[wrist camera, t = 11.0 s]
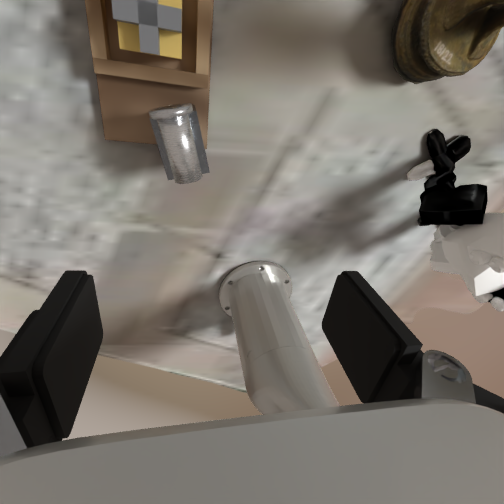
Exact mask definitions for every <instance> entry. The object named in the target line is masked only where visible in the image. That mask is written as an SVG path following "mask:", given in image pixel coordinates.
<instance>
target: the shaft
mask: <svg viewBox="0 0 504 504" xmlns="http://www.w3.org/2000/svg"><path fill="white" fill-rule="evenodd" d="M148 112H149V115H150V118H149V119H150V122H151V125H152V128H153V132H154V135H155V138H156V142H157V145H158V148H159V151H160V155H161V158H162V161H163V165H164V168H165V171H166V174H167V178H168V180H172V179H174V180H175V182H176V183H178V184H186V183H192V182H195V181H197V180H199V179H201V178H202V174H204V173H209V167H208V162H207V158H206V153H205V148H204V144H203V139H202V134H201V130H200V125H199V120H198V116H197V111H196V107H195V104H194V105H192V104H191V103H181V104H173V105H167V106H162V107H158V108H154V109H151V110H149V111H148Z"/></svg>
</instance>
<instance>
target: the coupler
mask: <svg viewBox="0 0 504 504" xmlns="http://www.w3.org/2000/svg"><path fill="white" fill-rule="evenodd" d="M112 11H113V19H115V20H116V21H117V24H118V35H119V46H120V49H124V50H128V51H134V52H139V53H145V54H151V55H157V56H163V57H169V58H175V59H181V60H182V0H112Z"/></svg>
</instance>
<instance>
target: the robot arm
mask: <svg viewBox="0 0 504 504" xmlns="http://www.w3.org/2000/svg"><path fill="white" fill-rule="evenodd" d="M291 294H292V282H291V279H290V277H289V275H288V273H287V272H286V271H285V270H284V269H283V268H282V267H281V266H279V265H277V264H274V263H271V262H265V261H258V262H251V263H247V264H244V265H242V266H240V267H238V268H236V269H235V270H233V271H232V272H231V273H230V274H229V275H227V277H226V278H225V279H224V281H223V282H222V284H221V286H220V290H219V300H220V304H221V307H222V309H223V310H224V311H225V312H226V313H227V314H228V315H229V316H231V317H232V318H233V324H234V329H235V334H236V339H237V345H238V350H239V355H240V360H241V365H242V371H243V376H244V381H245V386H246V390H247V394H248V396H249V398H250V400H251V402H252V403H253V405H254V406H255V407H256V408H257V409H258V410H259V412H261V413H262V414H263V415H257V416H249V417H240V418H231V419H223V420H214V421H206V422H198V423H189V424H182V425H173V426H164V427H156V428H148V429H140V430H133V431H125V432H118V433H110V434H103V435H96V436H89V437H81V438H75V439H69V440H64V441H62V438H67V437H69V435H70V433H71V430H72V427H73V424H74V421H75V418H76V416H77V413H78V410H79V407H80V404H81V401H82V398H83V395H84V392H85V389H86V386H87V384H88V381H89V378H90V375H91V372H92V369H93V366H94V363H95V360H96V357H97V354H98V351H99V349H100V346H101V343H102V339H103V329H102V323H101V318H100V312H99V307H98V301H97V296H96V290H95V285H94V279H93V276H92V275H87V272H86V271H65V272H64V274H63V275H62V277H61V278H60V280H59V281H58V283H57V284H56V286H55V287H54V289H53V290H52V292H51V293H50V295H49V296H48V298H47V299H46V301H45V302H44V304H43V305H42V307H41V308H40V310H35V311H33V312H32V313H31V314H30V315H29V316H28V318H27V319H26V321H25V322H24V324H23V325H22V326H21V328H20V329H19V331H18V332H17V334H16V335H15V337H14V338H13V340H12V341H11V342H10V344H9V345H8V347H7V348H6V350H5V351H4V352H3V354H2V356H1V357H0V504H504V399H503V398H501V397H499V396H497V395H495V394H493V393H491V392H489V391H487V390H485V389H483V388H481V387H479V386H477V385H475V384H473V383H472V378H471V375H470V373H469V371H468V370H467V369H466V367H465V366H464V365H463V364H462V363H460V362H459V361H457V360H456V359H455V358H454V357H452V356H450V355H448V354H446V353H444V352H440V351H436V350H429V351H426V352H425V353H423V352H422V351H421V350H420V349H421V347H422V345H423V344H422V343H421V342H420V341H419V340H418V339H417V338H416V336H415V335H414V334H413V333H412V332H411V331H410V330H409V329H408V328H407V326H406V325H405V324H404V323H403V322H402V321H401V320H400V318H399V317H398V316H397V315H396V314H395V313H394V312H393V311H392V309H391V308H390V307H389V306H388V305H387V304H386V303H385V302H384V300H383V299H382V298H381V297H380V296H379V295H378V294H377V292H376V291H375V290H374V289H373V288H372V287H371V286H370V285H369V283H368V282H367V281H366V280H365V279H364V278H363V277H362V276H361V274H360V273H359V272H357V271H343V272H342V273H341V275H338V276H337V279H336V282H335V285H334V288H333V291H332V294H331V297H330V300H329V303H328V306H327V309H326V312H325V315H324V318H323V321H322V329H323V332H324V333H325V335H326V337H327V339H328V341H329V343H330V345H331V346H332V348H333V350H334V352H335V354H336V356H337V358H338V360H339V361H340V363H341V365H342V367H343V369H344V371H345V373H346V375H347V376H348V378H349V380H350V382H351V384H352V386H353V387H354V390H355V391H356V393H357V395H358V397H359V399H360V400H361V402H362V403H364V404H356V405H346V406H340V405H339V403H338V401H337V400H336V398H335V396H334V394H333V392H332V391H331V388H330V387H329V385H328V383H327V381H326V379H325V376H324V374H323V372H322V370H321V368H320V365H319V363H318V361H317V359H316V357H315V354H314V352H313V350H312V348H311V345H310V343H309V341H308V339H307V337H306V334H305V332H304V330H303V328H302V326H301V323H300V321H299V319H298V317H297V314H296V312H295V310H294V308H293V306H292V303H291V301H290V297H291Z"/></svg>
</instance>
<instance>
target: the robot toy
mask: <svg viewBox="0 0 504 504" xmlns="http://www.w3.org/2000/svg"><path fill="white" fill-rule="evenodd" d="M427 146H428V149H429V153H430V156H431V157H432V160H428V161H425V162H423V163H421V164H419V165H417V166H415V167H413V168H412V169H411V170H410V171H409V172H408V173H407V177H408V180H409V181H412V180H419V179H422V178H424V177H426V176H428V175H430V174H433V175H431V176H430V177H429V178H428V180H427V181H426V182H425V183H424V188H425V191H424V192H423V193H422V194H421V195H420V199H421V206H420V209H419V213H420V217H421V218H419V219H418V224H419V226H427V225H431V224H432V225H440V226H439V228H438V229H437V230H436V232H435V233H434V239H435V240H434V241H432V243H431V245H430V246H431V251H432V256H431V259H430V262H431V266H432V270H434V271H438V272H445V273H451V274H460V275H461V277H462V278H463V280H464V282H465V283H466V285H467V287H468V290H469V291H470V292H471V293H472V295H473V297H474V298H475V299H476V300H477V301H478V302H479V303H486V302H490V303H491V305H492V306H493V307H494V308H495V309H496V310H497V311H504V213H486V214H485V210H486V205H487V186H485V185H481V184H471V185H460V186H458V187H456V188H455V186H454V183H455V181H456V175H455V174H454V173H453V171H454V169H455V162H457V161H458V160H460V159H461V158H462V157H464V156H465V155H466V154H467V153H468V152H469V151H470V148H471V142H470V138H468V136H463V135H460V136H459V137H457V138H456V139H455V140H453V141H452V142H450V143H449V144H448V145H446V142H445V138H444V135H443V133H441V132H440V131H439V130H438V129H434V130H433V131H431V132H429V133H428V137H427ZM445 152H446V153H445Z"/></svg>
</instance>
